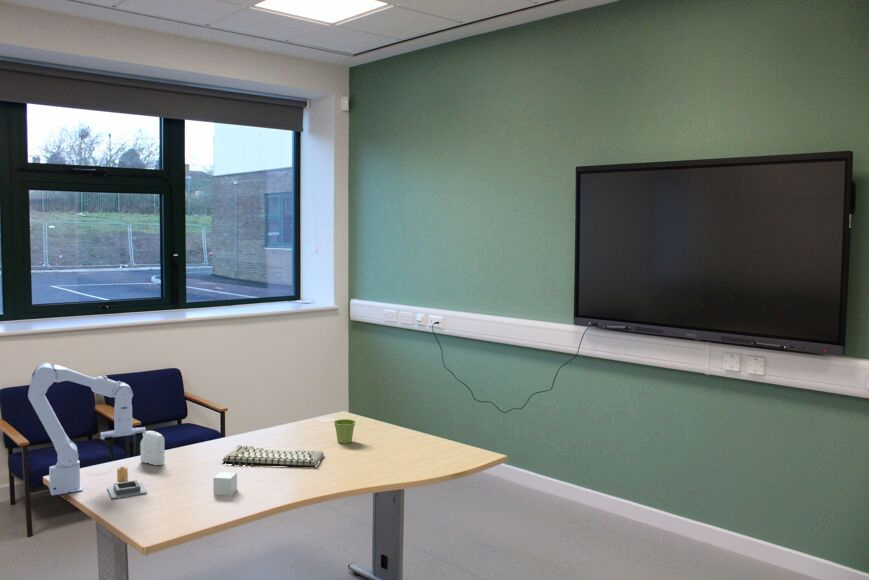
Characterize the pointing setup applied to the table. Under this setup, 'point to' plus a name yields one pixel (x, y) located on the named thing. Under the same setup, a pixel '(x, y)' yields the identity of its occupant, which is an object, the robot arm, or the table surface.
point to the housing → (126, 489)
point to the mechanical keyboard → (272, 457)
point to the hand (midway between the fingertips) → (123, 456)
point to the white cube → (225, 483)
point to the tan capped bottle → (122, 474)
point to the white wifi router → (152, 448)
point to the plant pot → (344, 430)
